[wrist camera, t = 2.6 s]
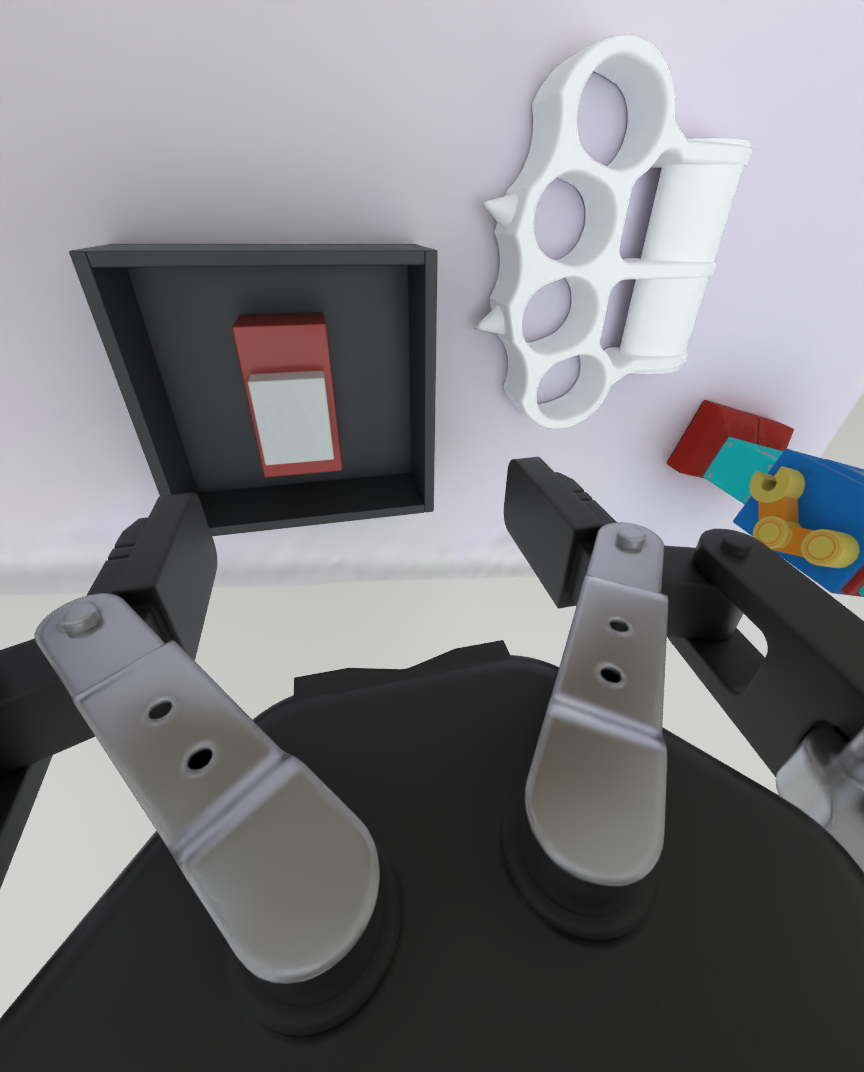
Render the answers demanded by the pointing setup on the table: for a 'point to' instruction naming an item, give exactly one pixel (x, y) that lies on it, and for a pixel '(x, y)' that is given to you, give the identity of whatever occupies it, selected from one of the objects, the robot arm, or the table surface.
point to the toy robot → (782, 493)
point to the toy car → (289, 391)
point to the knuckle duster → (610, 232)
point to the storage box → (217, 384)
